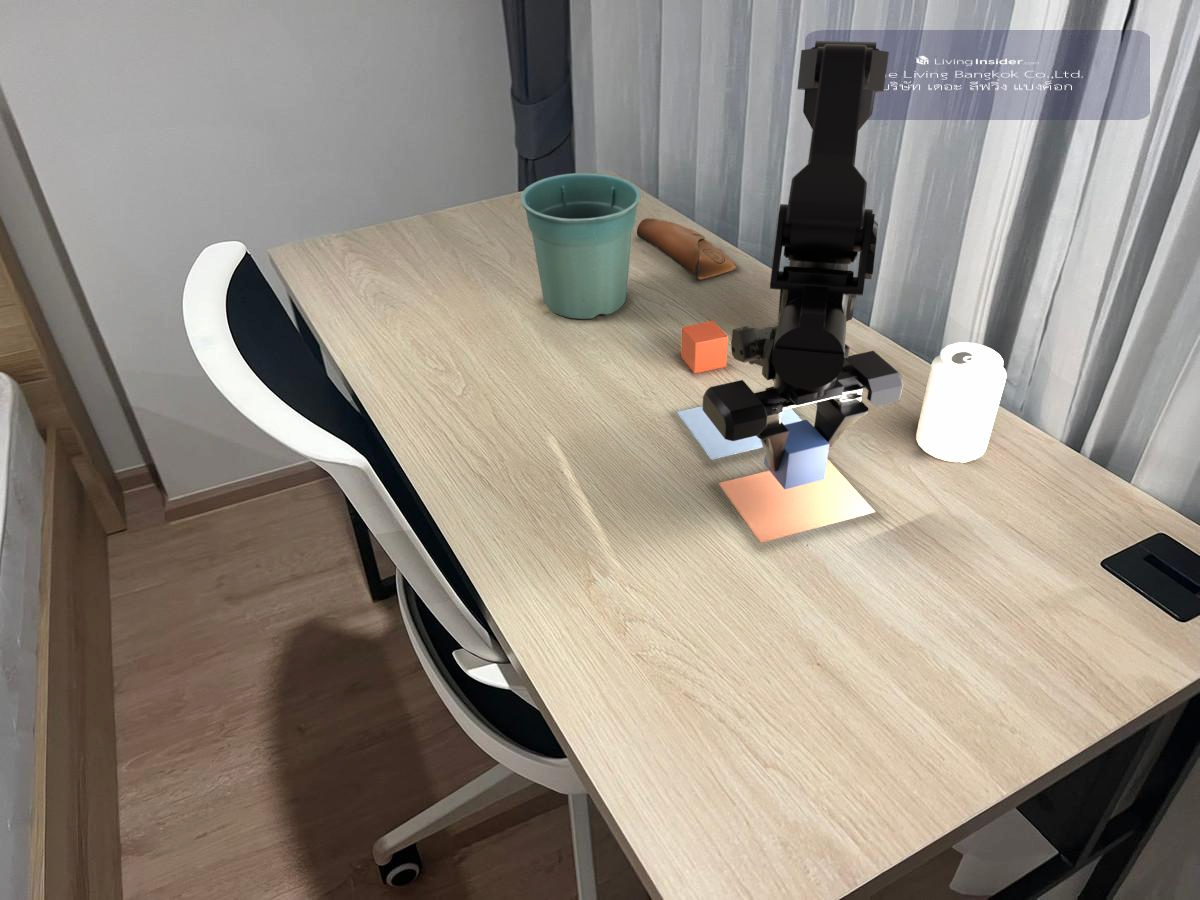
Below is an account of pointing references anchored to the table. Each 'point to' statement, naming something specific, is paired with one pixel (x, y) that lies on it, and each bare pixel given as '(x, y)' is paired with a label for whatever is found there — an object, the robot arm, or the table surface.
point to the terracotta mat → (793, 503)
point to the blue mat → (715, 441)
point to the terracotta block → (704, 346)
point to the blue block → (802, 456)
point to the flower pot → (582, 240)
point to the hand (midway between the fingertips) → (794, 463)
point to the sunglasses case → (685, 248)
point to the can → (961, 402)
